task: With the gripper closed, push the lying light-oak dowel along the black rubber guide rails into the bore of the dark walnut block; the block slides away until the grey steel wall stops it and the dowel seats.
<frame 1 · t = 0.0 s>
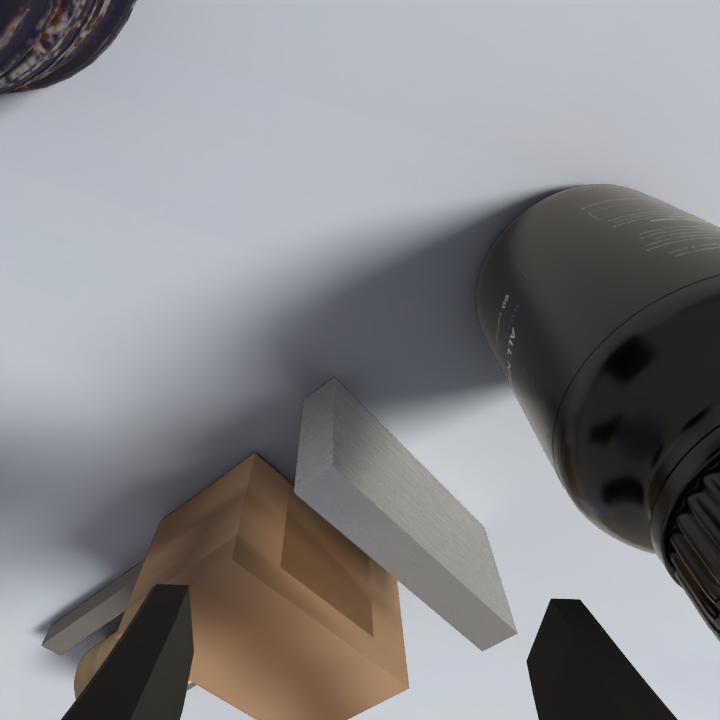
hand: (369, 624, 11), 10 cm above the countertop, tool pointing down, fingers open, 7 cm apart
steel backstop wall: (401, 468, 22), on the countertop
oak dowel: (171, 615, 26), on the countertop
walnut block: (276, 600, 21), point 3 cm above the countertop, slide at 0.0 cm
guide rails: (166, 621, 26), on the countertop
supplement bottle: (570, 282, 19), on the countertop
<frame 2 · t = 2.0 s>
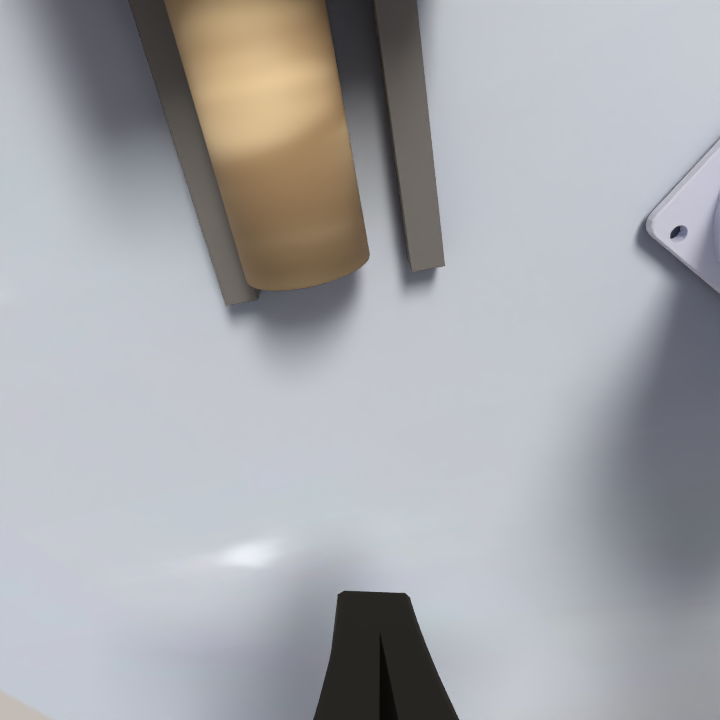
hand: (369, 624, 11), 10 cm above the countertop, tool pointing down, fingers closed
oak dowel: (303, 125, 15), on the countertop, tilted 19°
guide rails: (305, 136, 16), on the countertop
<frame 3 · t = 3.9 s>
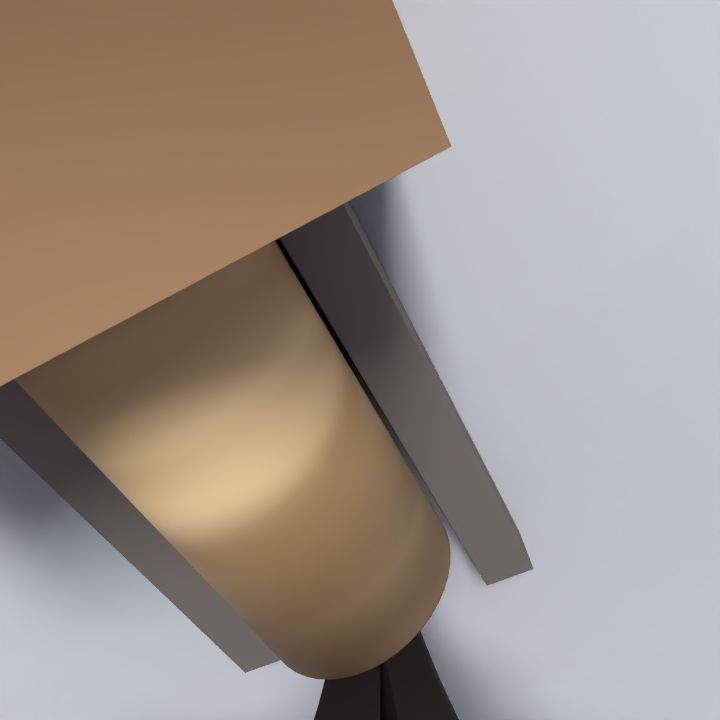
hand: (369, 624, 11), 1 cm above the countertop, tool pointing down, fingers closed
oak dowel: (241, 385, 10), on the countertop, tilted 14°, touching gripper
guide rails: (283, 455, 11), on the countertop
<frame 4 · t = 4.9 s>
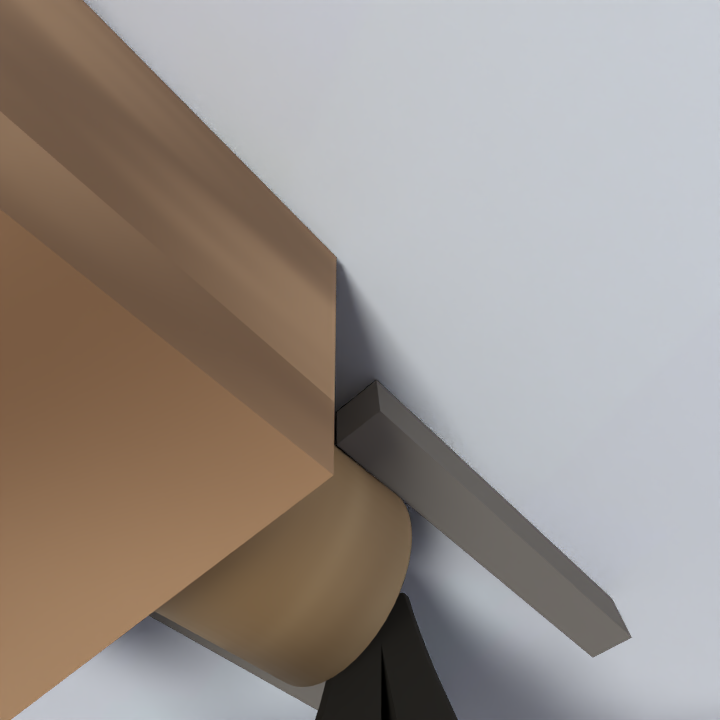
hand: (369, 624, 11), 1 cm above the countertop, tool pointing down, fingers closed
oak dowel: (176, 430, 10), on the countertop, tilted 22°, touching gripper, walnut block
guide rails: (388, 582, 13), on the countertop
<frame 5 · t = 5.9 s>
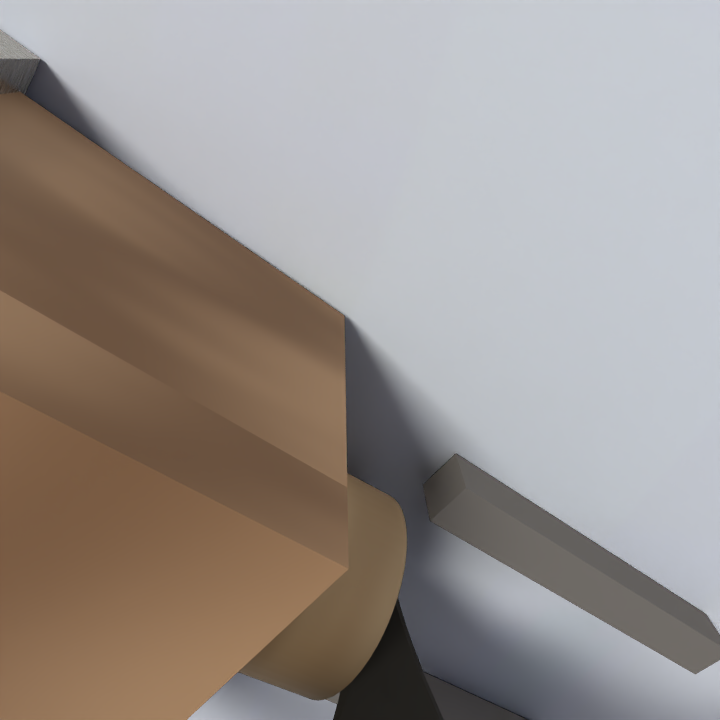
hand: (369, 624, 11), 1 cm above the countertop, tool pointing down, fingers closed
oak dowel: (171, 474, 11), on the countertop, tilted 27°, touching gripper, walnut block
guide rails: (487, 623, 13), on the countertop
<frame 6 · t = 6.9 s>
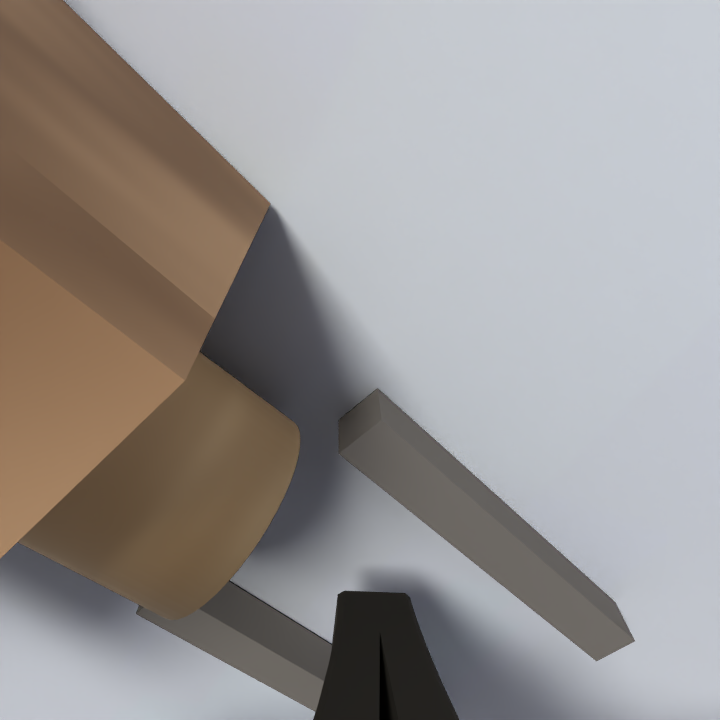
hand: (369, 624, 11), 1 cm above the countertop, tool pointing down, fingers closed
oak dowel: (60, 360, 10), on the countertop, tilted 22°
guide rails: (392, 588, 13), on the countertop
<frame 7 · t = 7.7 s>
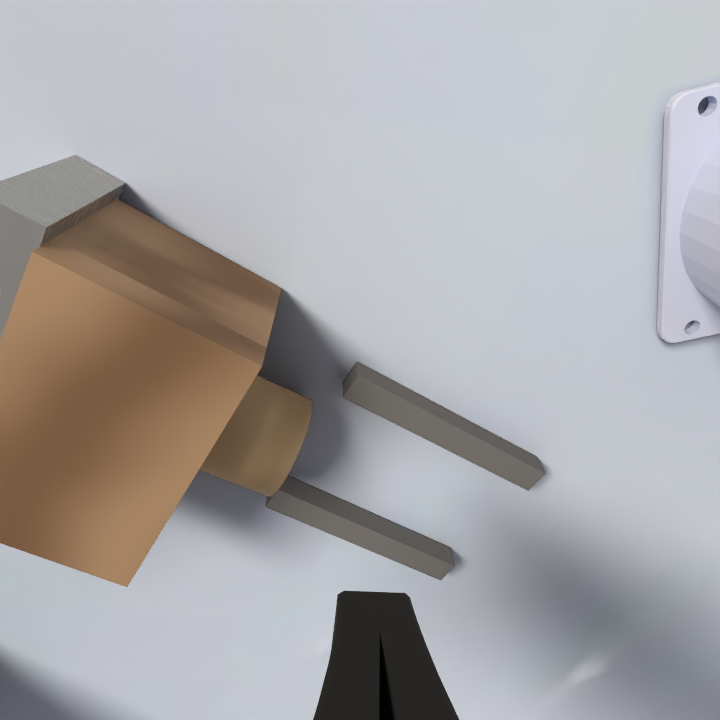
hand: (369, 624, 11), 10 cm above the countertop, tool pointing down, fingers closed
steel backstop wall: (48, 304, 18), on the countertop
oak dowel: (204, 380, 20), on the countertop
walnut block: (122, 395, 17), point 3 cm above the countertop, slide at 3.0 cm, touching steel backstop wall
guide rails: (401, 473, 22), on the countertop
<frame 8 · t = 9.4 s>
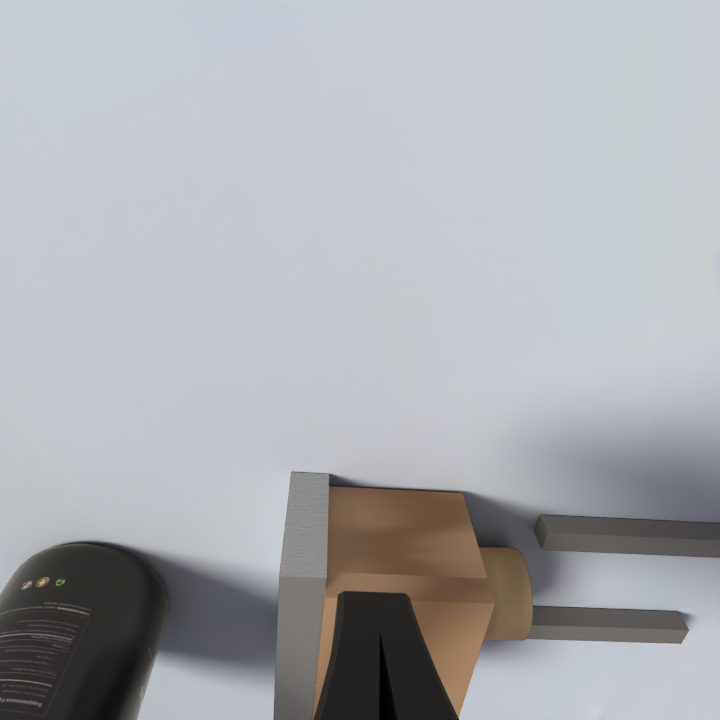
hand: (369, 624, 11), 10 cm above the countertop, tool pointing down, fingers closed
steel backstop wall: (304, 561, 24), on the countertop
oak dowel: (427, 567, 25), on the countertop, tilted 18°
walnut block: (387, 619, 22), point 3 cm above the countertop, slide at 3.0 cm, touching steel backstop wall
guide rails: (610, 574, 25), on the countertop
supplement bottle: (97, 587, 25), on the countertop
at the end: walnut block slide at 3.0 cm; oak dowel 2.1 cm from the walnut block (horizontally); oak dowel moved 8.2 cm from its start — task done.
